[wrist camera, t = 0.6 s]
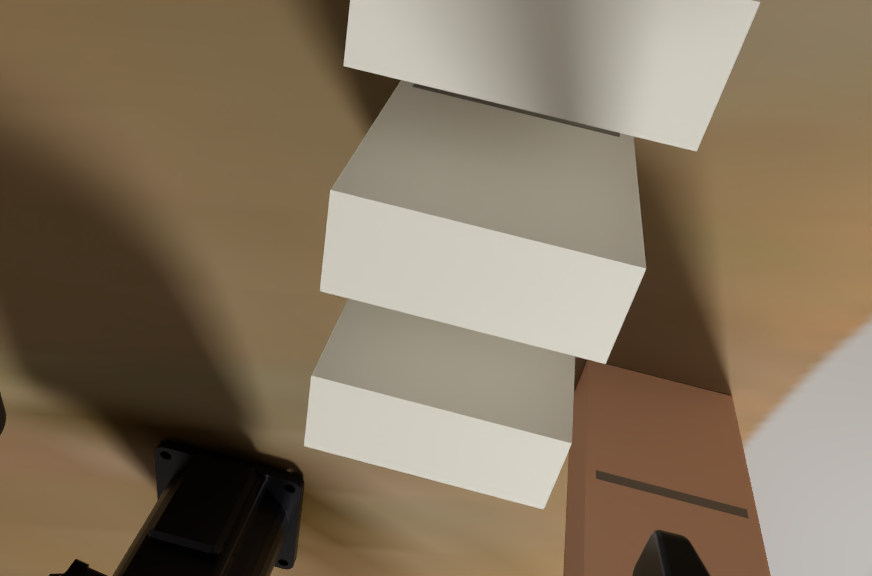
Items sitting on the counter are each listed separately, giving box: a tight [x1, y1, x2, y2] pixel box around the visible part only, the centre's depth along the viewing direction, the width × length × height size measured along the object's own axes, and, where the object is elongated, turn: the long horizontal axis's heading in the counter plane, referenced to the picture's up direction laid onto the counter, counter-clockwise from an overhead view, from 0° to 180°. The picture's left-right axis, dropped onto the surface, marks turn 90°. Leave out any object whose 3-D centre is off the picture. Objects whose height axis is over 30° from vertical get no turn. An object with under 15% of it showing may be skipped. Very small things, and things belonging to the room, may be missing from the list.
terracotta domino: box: [564, 360, 770, 576], centre depth 22 cm, size 2×5×10 cm, turn 80°
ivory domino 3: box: [304, 298, 575, 509], centre depth 18 cm, size 2×5×10 cm, turn 80°
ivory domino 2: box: [320, 80, 646, 364], centre depth 16 cm, size 2×5×10 cm, turn 80°
